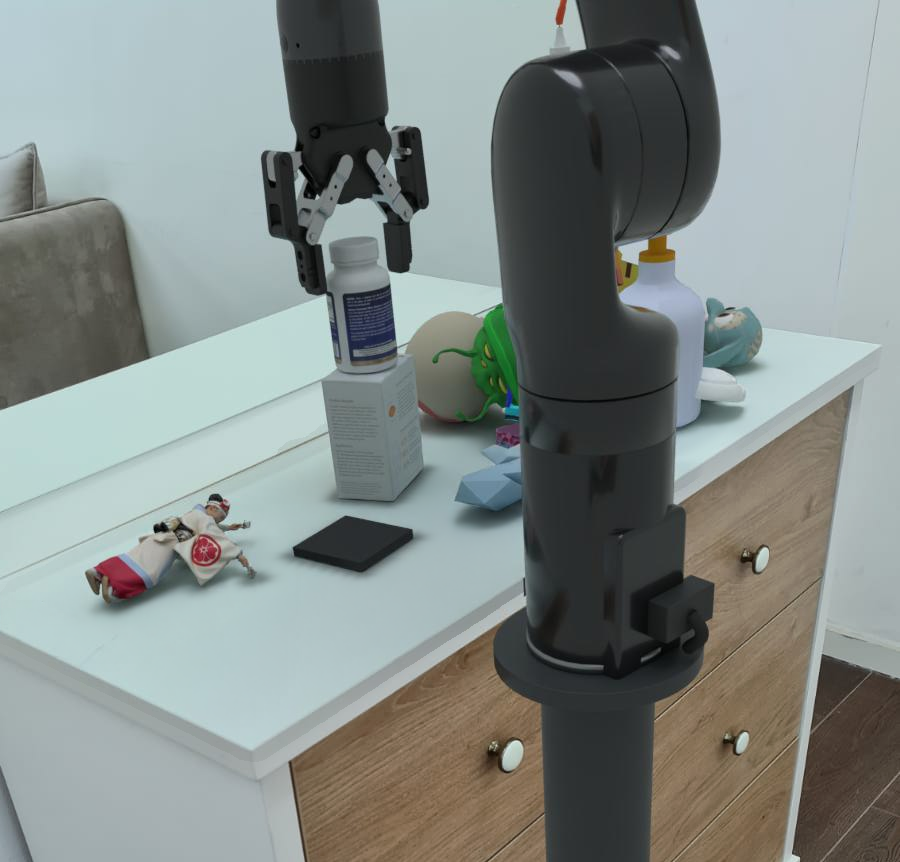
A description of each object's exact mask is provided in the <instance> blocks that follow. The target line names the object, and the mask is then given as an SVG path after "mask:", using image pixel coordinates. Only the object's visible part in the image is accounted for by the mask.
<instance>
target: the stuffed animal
mask: <svg viewBox="0 0 900 862" xmlns="http://www.w3.org/2000/svg"><path fill="white" fill-rule="evenodd" d="M705 306H706V313H707V317H705V329H704V349H703V367H709V368H716V369H717V368H719V367H722V368H729V367H730V368H731V367H732V368H733V367H738V366H741V365H744V364H748V363H750V362H751V361H752V360H753V359H754V358H755V357H756V356H758V354H759V352H760V349H761V347H762V344H763V327H762V325H761V322H760V320H759V318H758V317H757V316H756V314H755V313H754V312H753V311H752V310H751V308H750V307H747V306H744V307H742V308H738V307H736V306H735V307H734V306H730V307H725V306H724V303H723V302H721V301H720V300H719V299H717V298H716V297H707V298H706V302H705Z"/></svg>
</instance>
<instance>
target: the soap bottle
mask: <svg viewBox="0 0 900 862" xmlns="http://www.w3.org/2000/svg"><path fill="white" fill-rule="evenodd" d="M672 234H673V233H671V234H667V235H664V236H660V237H656V238H652V239H648V240H647V249H645V250H641V251H639V252H638V260H637V261H638V263H637V265H638V278H637V280H636V281H635V282H634V283H633V284H632V285H630V286H629V287H627V288H625V289H624V290H623V291H622V292H621V293H620V294H619V297H620V300H621V301H622V302H623V303H624V304H629V305H634V306H639V307H643V308H647V309H651V310H654V311H658V312H660V313H662V314H664V315H666V316H668V317H669V318H670V319H671V320H672V321H673V322H674V323H675V324H676V326H677V329H678V331H679V338H680V358H679V379H678V404H677V425H676V429H677V428H680V427H681V428H682V427H684V426H686V425H688V424H690V423H692V422H694V421H695V420H696V419H697V418H698V416H699V415H700V413H701V404H702V399H696V398H695V396H696V392H697V389H698V384H699V381H700V379H701V375H702V368H703V349H704V329H705V318H706V310H705V309H706V308H705V307H704V306H705V305H704V303H703V300H702V297H701V296H700V295H699V294H698V293H697V292H696V291H695V290H693V289H692V288H691V287H689V286H688V285H686V284H685V283H682V282H681V281H680V280H679V279H678V278H677V277H676V250H674V249H671V248H667V244H668V243H667V241H668V236H669V235H672Z"/></svg>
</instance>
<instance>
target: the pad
mask: <svg viewBox="0 0 900 862" xmlns="http://www.w3.org/2000/svg"><path fill="white" fill-rule="evenodd" d="M413 539H414V529H413V528H409V527H404V526H399V525H395V524H390V523H385V522H381V521H376V520H370V519H365V518H361V517H357V516H356V517H355V516H352V515H346V514H345V515H344V516H342V517H340V518H339V519H336V520H335V521H334V522H332V523H330V524H329V525H326V526H325V527H324V528H322V529H320V530H318V531H317V532H316V533H313V534H311V535H310V536H308V537H307V538H305V539H303V540H302V541H300V542H299V543H297V544H295V545H293V546H292V552H293V556H294V557H296V558H301V559H305V560H309V561H314V562H318V563H322V564H327V565H330V566H335V567H340V568H343V569H348V570H352V571H356V572H360V573H362V572H364V571H366V570H367V569H369V568H370V567H372V566H373V565H375V564H376V563H378V562H379V561H381V560H382V559H384V558H386V557H387V556H389V555H390V554H392V553H393V552H395V551H396V550H398V549H400V548H401V547H402V546H403V545H405V544H407V543H408V542H410V541H411V540H413Z"/></svg>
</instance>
